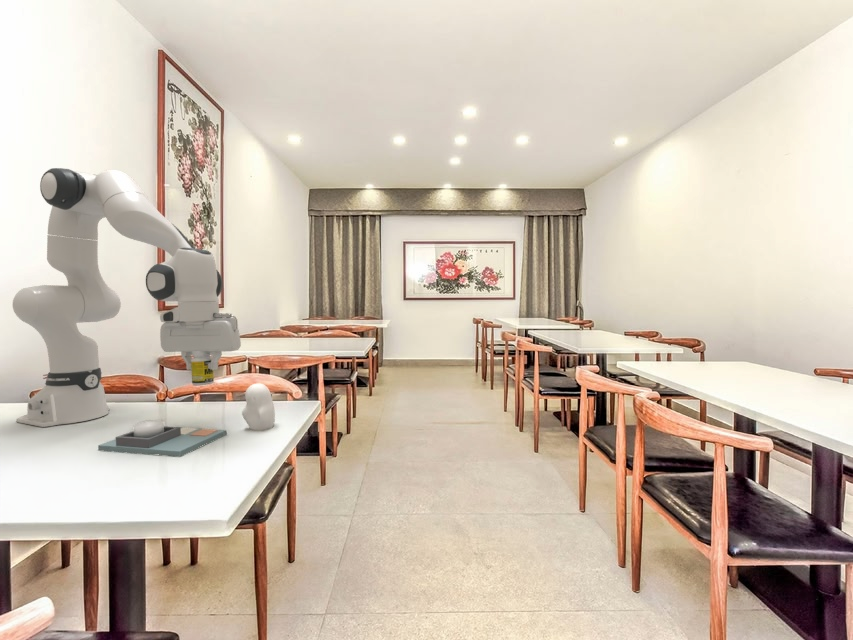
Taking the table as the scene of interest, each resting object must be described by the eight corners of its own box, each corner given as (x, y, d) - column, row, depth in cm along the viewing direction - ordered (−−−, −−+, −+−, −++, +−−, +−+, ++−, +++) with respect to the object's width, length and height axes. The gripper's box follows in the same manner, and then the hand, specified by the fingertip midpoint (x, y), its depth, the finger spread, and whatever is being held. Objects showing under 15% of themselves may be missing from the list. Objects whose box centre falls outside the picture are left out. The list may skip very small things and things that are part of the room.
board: (98, 450, 95) (97, 436, 95) (154, 430, 110) (153, 418, 110) (179, 456, 90) (179, 442, 90) (226, 434, 105) (226, 422, 105)
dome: (127, 443, 96) (126, 425, 96) (149, 435, 102) (149, 417, 101) (149, 445, 94) (148, 426, 94) (170, 436, 100) (169, 418, 100)
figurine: (239, 430, 108) (237, 385, 108) (259, 422, 116) (257, 379, 115) (262, 432, 106) (260, 386, 106) (281, 424, 113) (279, 380, 113)
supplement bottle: (207, 385, 100) (205, 351, 100) (188, 386, 100) (186, 351, 100) (217, 381, 105) (215, 348, 105) (199, 382, 105) (197, 349, 105)
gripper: (244, 312, 103) (247, 367, 103) (174, 314, 107) (177, 367, 108) (227, 313, 97) (230, 372, 97) (153, 315, 101) (157, 371, 102)
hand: (202, 369), depth 103 cm, fingers closed on supplement bottle, 5 cm apart
